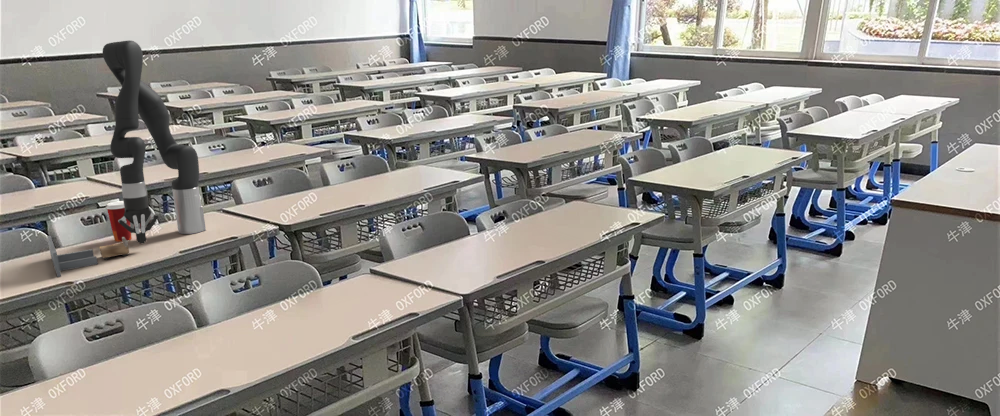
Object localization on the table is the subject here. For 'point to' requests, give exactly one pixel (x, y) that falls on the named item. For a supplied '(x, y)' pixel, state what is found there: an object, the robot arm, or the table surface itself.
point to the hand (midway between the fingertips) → (141, 243)
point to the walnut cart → (115, 249)
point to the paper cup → (115, 214)
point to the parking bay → (70, 258)
